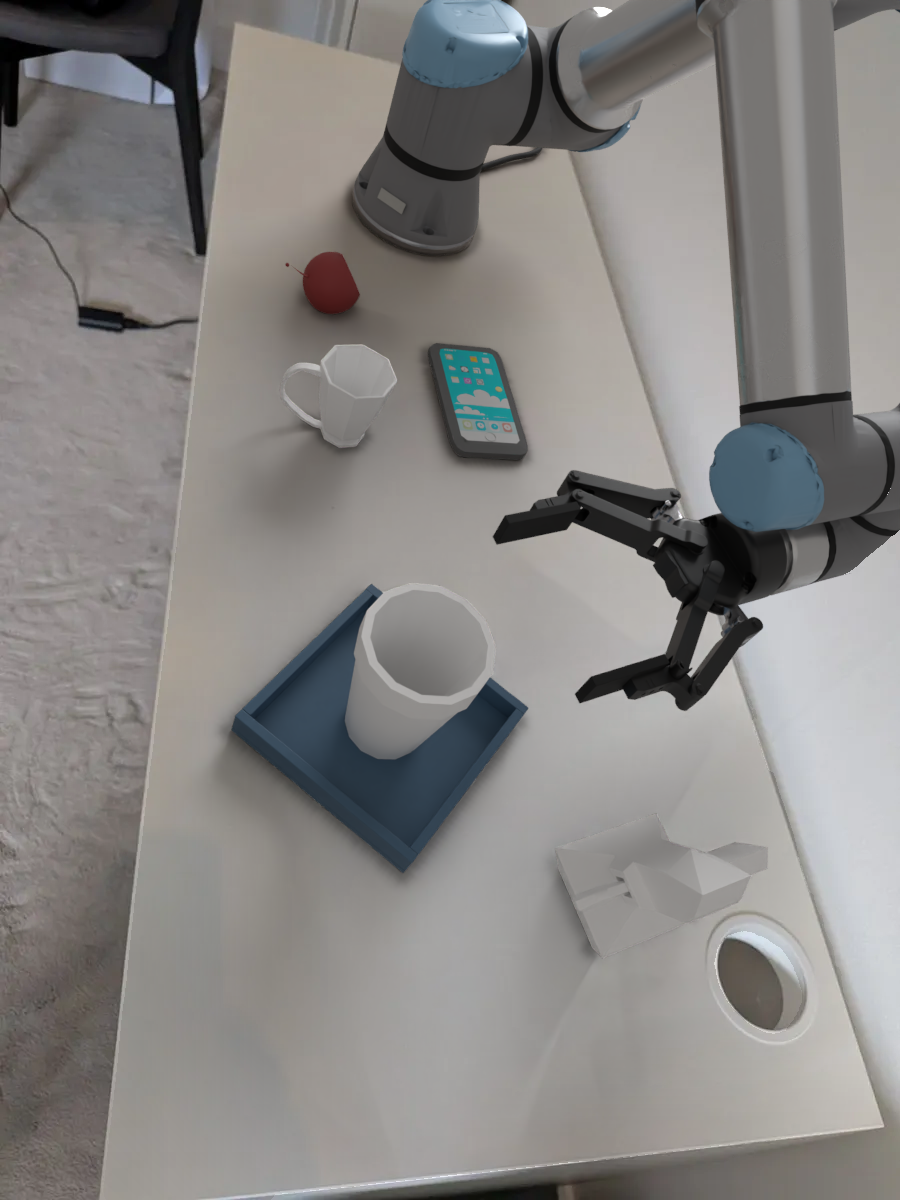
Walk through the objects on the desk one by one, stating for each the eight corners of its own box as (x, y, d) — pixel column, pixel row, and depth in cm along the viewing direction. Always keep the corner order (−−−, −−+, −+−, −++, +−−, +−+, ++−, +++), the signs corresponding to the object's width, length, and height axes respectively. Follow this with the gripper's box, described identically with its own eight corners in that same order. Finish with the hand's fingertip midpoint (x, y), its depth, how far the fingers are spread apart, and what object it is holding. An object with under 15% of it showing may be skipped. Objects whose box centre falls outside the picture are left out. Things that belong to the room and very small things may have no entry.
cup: (374, 466, 86) (394, 407, 80) (268, 441, 84) (281, 379, 78) (380, 413, 90) (400, 353, 84) (279, 388, 88) (292, 324, 82)
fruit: (302, 296, 99) (275, 242, 92) (350, 274, 99) (327, 219, 92) (319, 336, 96) (293, 284, 89) (368, 314, 96) (346, 260, 89)
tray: (364, 599, 78) (371, 583, 76) (517, 721, 76) (529, 707, 74) (230, 730, 68) (234, 715, 66) (402, 873, 66) (412, 863, 64)
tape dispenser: (511, 870, 69) (586, 808, 58) (656, 820, 75) (749, 755, 64) (557, 982, 65) (646, 939, 54) (705, 920, 71) (812, 870, 61)
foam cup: (313, 677, 72) (347, 589, 62) (421, 661, 76) (470, 576, 65) (343, 790, 68) (384, 715, 57) (455, 767, 71) (513, 694, 61)
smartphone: (454, 450, 89) (426, 340, 96) (451, 456, 90) (424, 347, 97) (533, 454, 92) (500, 347, 99) (529, 460, 93) (497, 354, 100)
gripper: (811, 705, 72) (600, 785, 63) (657, 463, 82) (454, 500, 72) (874, 662, 66) (651, 742, 57) (700, 406, 76) (485, 438, 66)
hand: (540, 607), depth 65 cm, fingers open, 13 cm apart
